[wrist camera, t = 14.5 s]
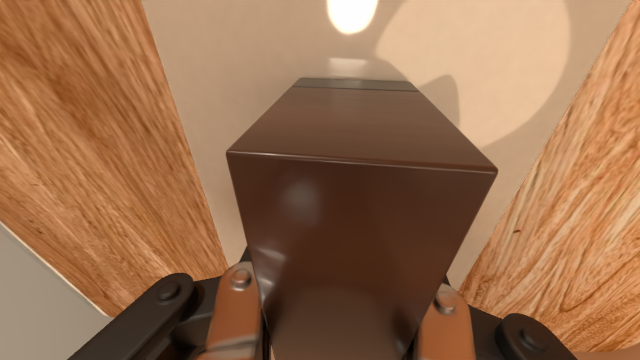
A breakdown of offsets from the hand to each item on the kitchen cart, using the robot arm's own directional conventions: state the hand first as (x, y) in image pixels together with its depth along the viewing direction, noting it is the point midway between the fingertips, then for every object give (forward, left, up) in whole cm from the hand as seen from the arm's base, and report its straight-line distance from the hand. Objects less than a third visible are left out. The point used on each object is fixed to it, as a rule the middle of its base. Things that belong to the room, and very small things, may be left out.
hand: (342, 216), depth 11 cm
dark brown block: (0, 0, -1) cm, 1 cm away
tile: (0, 0, -3) cm, 3 cm away
